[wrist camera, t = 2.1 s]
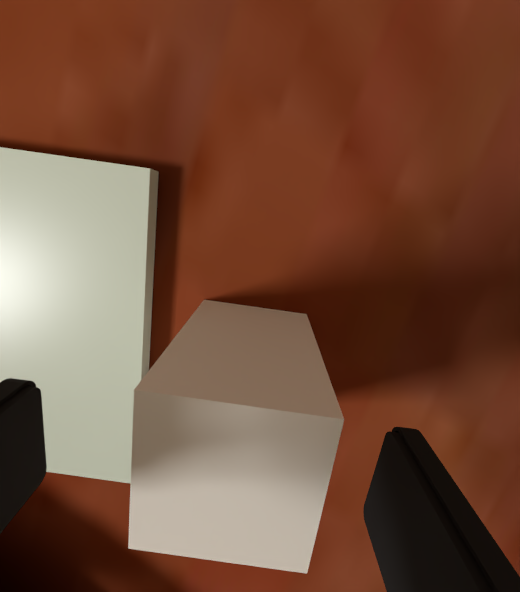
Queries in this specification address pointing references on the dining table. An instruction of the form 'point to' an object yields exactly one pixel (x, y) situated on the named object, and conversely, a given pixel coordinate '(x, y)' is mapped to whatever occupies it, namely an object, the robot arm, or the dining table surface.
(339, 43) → the dining table surface
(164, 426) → the cream block
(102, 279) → the sage mat
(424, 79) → the dining table surface
